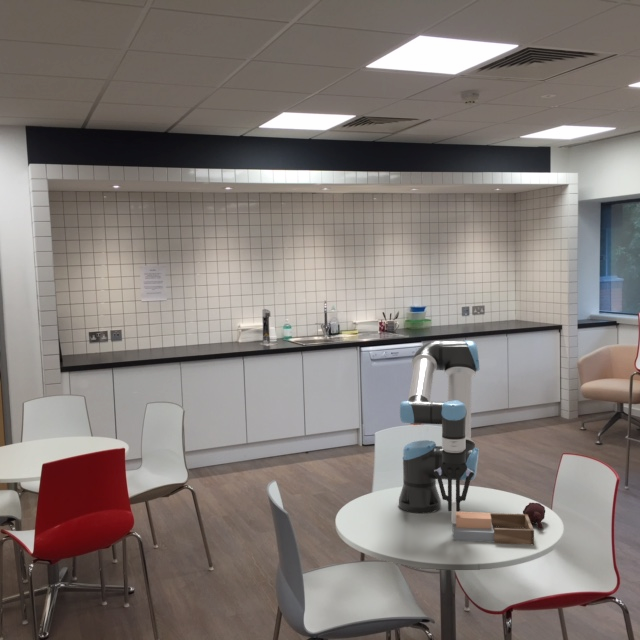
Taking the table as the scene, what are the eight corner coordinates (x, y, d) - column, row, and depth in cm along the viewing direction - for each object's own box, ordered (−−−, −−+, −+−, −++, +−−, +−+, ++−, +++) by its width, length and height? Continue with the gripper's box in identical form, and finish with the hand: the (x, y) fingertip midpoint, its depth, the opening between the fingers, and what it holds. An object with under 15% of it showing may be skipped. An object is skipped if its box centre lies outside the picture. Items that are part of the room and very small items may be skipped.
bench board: (452, 525, 235) (452, 517, 235) (490, 527, 233) (490, 518, 233) (453, 540, 223) (453, 531, 223) (494, 541, 222) (494, 532, 221)
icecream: (517, 496, 244) (525, 515, 230) (538, 491, 243) (548, 510, 229) (521, 514, 245) (530, 534, 231) (542, 509, 244) (553, 529, 230)
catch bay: (490, 526, 234) (490, 513, 234) (527, 527, 233) (527, 514, 232) (494, 543, 221) (494, 529, 220) (533, 544, 219) (533, 530, 218)
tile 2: (472, 521, 231) (472, 512, 230) (490, 522, 230) (490, 512, 230) (473, 527, 225) (473, 518, 225) (491, 528, 224) (491, 518, 224)
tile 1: (455, 520, 232) (455, 511, 231) (472, 521, 231) (472, 512, 230) (456, 527, 226) (456, 517, 226) (473, 528, 225) (473, 518, 225)
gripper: (433, 452, 224) (433, 524, 226) (474, 453, 222) (474, 525, 224) (433, 446, 231) (433, 515, 233) (473, 447, 229) (473, 517, 231)
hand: (453, 520), depth 229 cm, fingers closed
